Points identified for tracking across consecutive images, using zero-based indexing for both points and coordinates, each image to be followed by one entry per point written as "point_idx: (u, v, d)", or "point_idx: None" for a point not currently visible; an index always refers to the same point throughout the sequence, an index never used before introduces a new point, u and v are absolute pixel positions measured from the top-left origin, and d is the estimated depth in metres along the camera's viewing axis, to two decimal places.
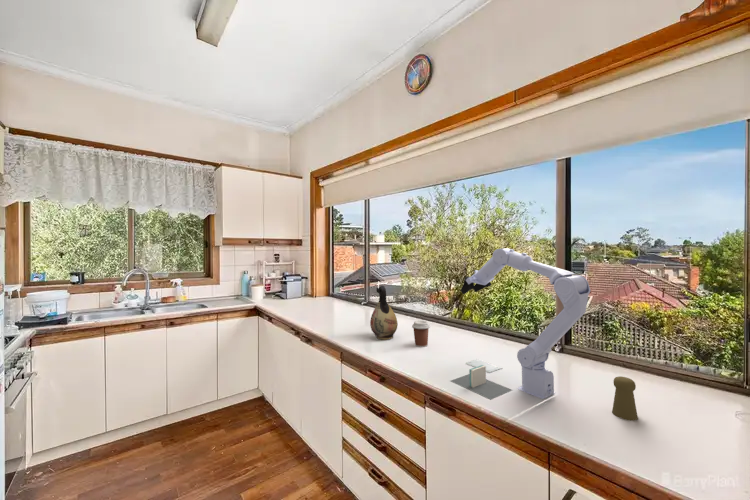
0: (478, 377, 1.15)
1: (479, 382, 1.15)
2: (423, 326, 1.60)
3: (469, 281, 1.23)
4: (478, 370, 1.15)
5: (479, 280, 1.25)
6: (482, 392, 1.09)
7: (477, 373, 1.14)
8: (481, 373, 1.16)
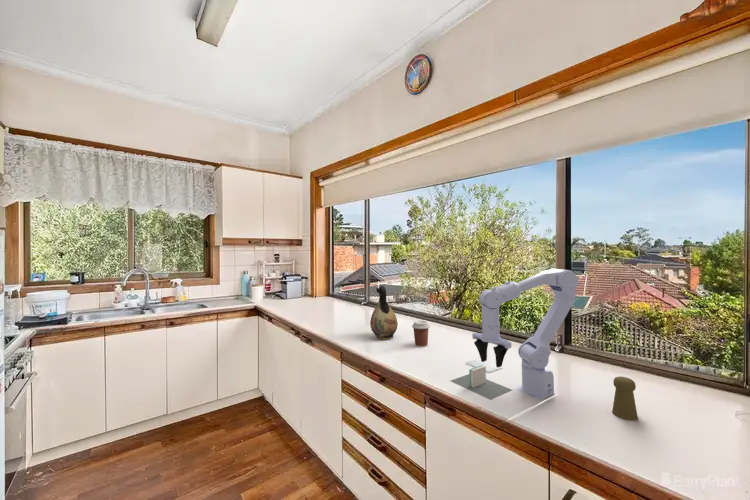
0: (478, 377, 1.15)
1: (479, 382, 1.15)
2: (423, 326, 1.60)
3: (510, 344, 1.04)
4: (478, 370, 1.15)
5: (499, 338, 1.09)
6: (482, 392, 1.09)
7: (477, 373, 1.14)
8: (481, 373, 1.16)
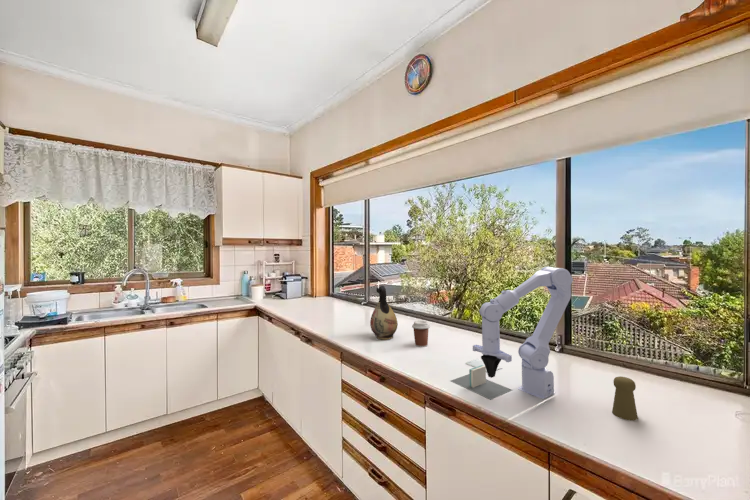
0: (478, 377, 1.15)
1: (479, 382, 1.15)
2: (423, 326, 1.60)
3: (510, 357, 1.05)
4: (478, 370, 1.15)
5: (499, 351, 1.09)
6: (482, 392, 1.09)
7: (477, 373, 1.14)
8: (481, 373, 1.16)
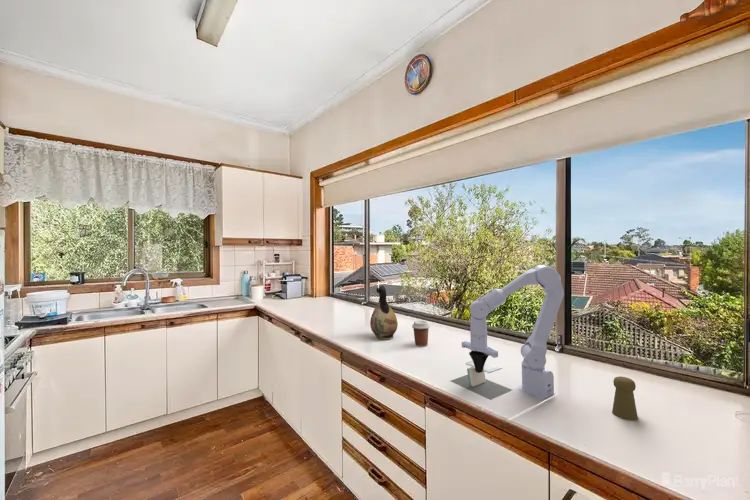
0: (477, 376, 1.15)
1: (479, 381, 1.15)
2: (423, 326, 1.60)
3: (497, 353, 1.09)
4: None
5: (487, 347, 1.13)
6: (482, 392, 1.09)
7: (475, 372, 1.15)
8: None
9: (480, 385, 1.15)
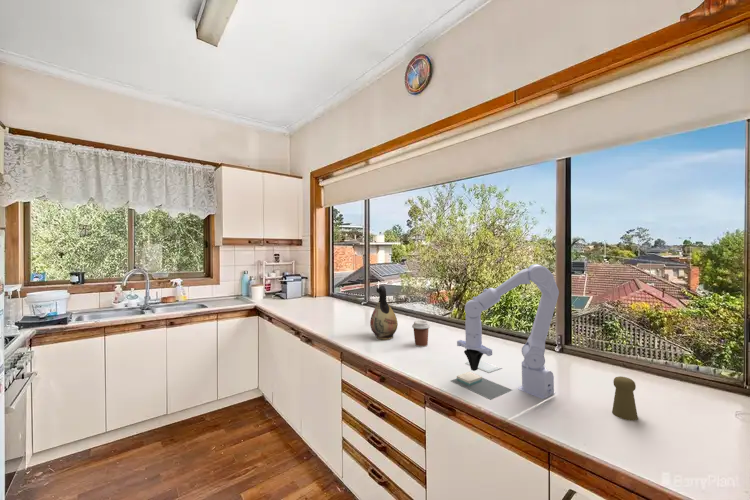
0: (468, 376, 1.18)
1: (473, 378, 1.17)
2: (423, 326, 1.60)
3: (491, 351, 1.11)
4: (463, 374, 1.21)
5: (481, 345, 1.15)
6: (482, 392, 1.09)
7: (464, 375, 1.19)
8: (469, 374, 1.20)
9: (480, 385, 1.15)
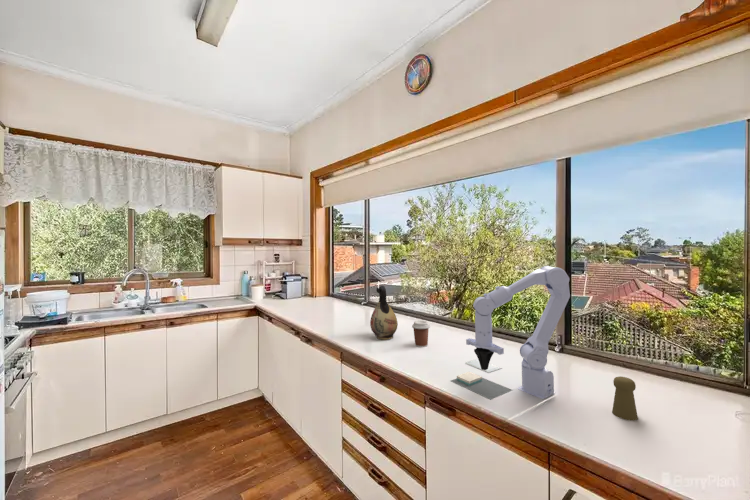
0: (468, 376, 1.18)
1: (473, 378, 1.17)
2: (423, 326, 1.60)
3: (502, 350, 1.07)
4: (463, 374, 1.21)
5: (492, 344, 1.11)
6: (482, 392, 1.09)
7: (464, 375, 1.19)
8: (469, 374, 1.20)
9: (480, 385, 1.15)
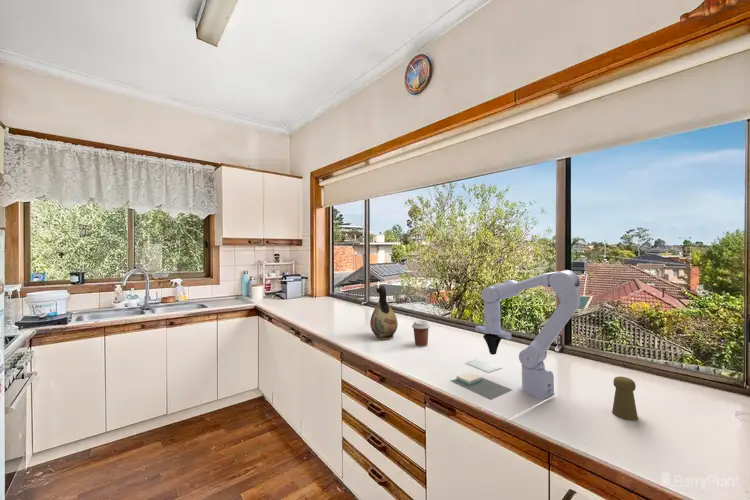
0: (468, 376, 1.18)
1: (473, 378, 1.17)
2: (423, 326, 1.60)
3: (510, 335, 1.14)
4: (463, 374, 1.21)
5: (500, 330, 1.19)
6: (482, 392, 1.09)
7: (464, 375, 1.19)
8: (469, 374, 1.20)
9: (480, 385, 1.15)
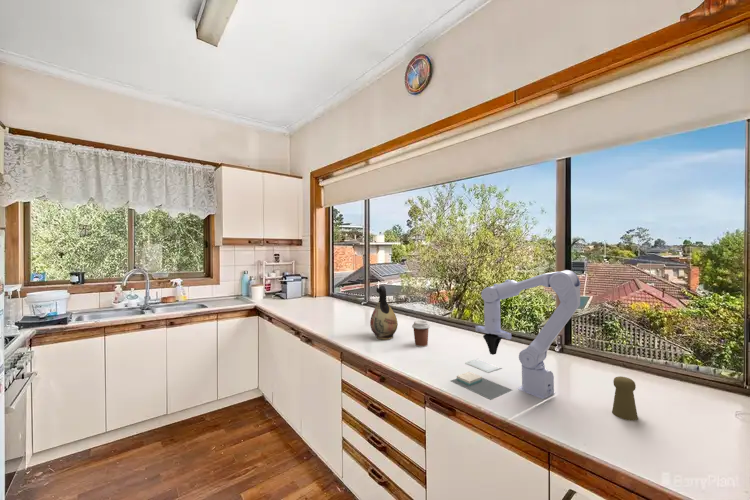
0: (468, 376, 1.18)
1: (473, 378, 1.17)
2: (423, 326, 1.60)
3: (510, 335, 1.14)
4: (463, 374, 1.21)
5: (500, 330, 1.19)
6: (482, 392, 1.09)
7: (464, 375, 1.19)
8: (469, 374, 1.20)
9: (480, 385, 1.15)
